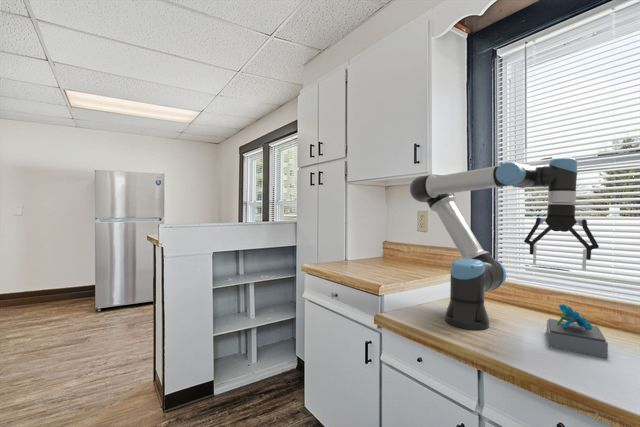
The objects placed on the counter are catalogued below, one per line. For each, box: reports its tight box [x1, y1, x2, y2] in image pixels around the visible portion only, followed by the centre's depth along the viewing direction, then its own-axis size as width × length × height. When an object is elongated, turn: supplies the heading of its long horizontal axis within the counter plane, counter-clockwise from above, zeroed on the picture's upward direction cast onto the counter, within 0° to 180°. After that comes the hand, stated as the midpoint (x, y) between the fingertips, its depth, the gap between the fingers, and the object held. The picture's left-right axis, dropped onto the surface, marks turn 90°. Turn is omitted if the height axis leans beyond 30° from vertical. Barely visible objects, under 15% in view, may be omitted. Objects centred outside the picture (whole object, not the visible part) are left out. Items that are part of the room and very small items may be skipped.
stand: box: [546, 318, 609, 359], centre depth 104 cm, size 14×15×5 cm
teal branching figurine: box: [557, 303, 593, 330], centre depth 104 cm, size 11×6×10 cm
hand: (558, 266), depth 111 cm, fingers open, 13 cm apart
